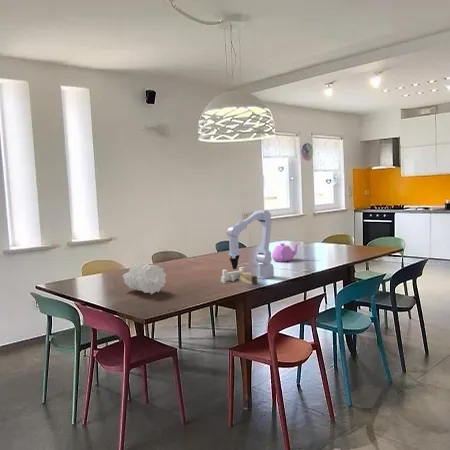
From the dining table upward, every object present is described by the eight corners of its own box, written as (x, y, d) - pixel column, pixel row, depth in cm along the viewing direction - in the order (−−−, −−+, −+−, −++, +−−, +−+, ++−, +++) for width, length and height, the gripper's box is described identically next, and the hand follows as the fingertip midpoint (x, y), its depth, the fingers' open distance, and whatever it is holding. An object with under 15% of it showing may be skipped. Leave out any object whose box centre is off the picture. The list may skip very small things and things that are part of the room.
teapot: (300, 262, 355) (299, 244, 353) (271, 263, 358) (270, 245, 357) (299, 258, 376) (299, 240, 375) (272, 258, 380) (272, 241, 379)
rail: (244, 280, 301) (243, 272, 301) (257, 283, 288) (256, 275, 288) (239, 281, 299) (238, 273, 299) (252, 284, 286) (251, 276, 286)
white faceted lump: (142, 294, 294) (163, 298, 275) (118, 286, 284) (138, 290, 264) (150, 266, 298) (172, 268, 279) (127, 257, 288) (148, 259, 269)
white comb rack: (246, 276, 311) (245, 266, 310) (251, 278, 306) (250, 267, 305) (219, 281, 301) (218, 270, 300) (224, 283, 295) (223, 272, 295)
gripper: (228, 245, 298) (229, 266, 300) (226, 248, 284) (227, 270, 285) (239, 244, 298) (240, 265, 299) (238, 247, 283) (239, 270, 285)
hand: (235, 268), depth 292 cm, fingers open, 7 cm apart
